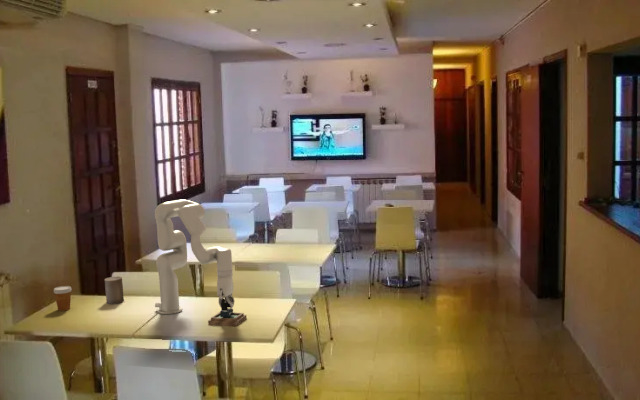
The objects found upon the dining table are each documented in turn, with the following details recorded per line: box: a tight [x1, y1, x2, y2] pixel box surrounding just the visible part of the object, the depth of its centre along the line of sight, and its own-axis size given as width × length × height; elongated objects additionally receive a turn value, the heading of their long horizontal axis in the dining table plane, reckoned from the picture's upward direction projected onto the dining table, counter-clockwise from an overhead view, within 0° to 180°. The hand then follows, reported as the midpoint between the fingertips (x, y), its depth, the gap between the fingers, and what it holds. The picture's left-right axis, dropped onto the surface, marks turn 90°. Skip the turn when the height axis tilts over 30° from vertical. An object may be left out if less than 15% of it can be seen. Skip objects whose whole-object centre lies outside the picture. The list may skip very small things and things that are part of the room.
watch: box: [218, 295, 235, 318], centre depth 370 cm, size 6×8×11 cm
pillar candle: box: [104, 276, 125, 305], centre depth 418 cm, size 10×10×15 cm
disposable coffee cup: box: [53, 285, 72, 312], centre depth 406 cm, size 10×10×12 cm
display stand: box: [207, 311, 247, 327], centre depth 371 cm, size 15×13×3 cm
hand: (226, 308), depth 370 cm, fingers closed on watch, 4 cm apart
